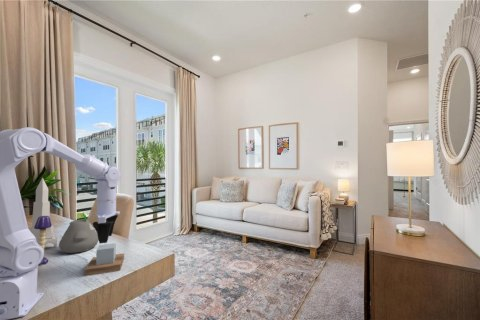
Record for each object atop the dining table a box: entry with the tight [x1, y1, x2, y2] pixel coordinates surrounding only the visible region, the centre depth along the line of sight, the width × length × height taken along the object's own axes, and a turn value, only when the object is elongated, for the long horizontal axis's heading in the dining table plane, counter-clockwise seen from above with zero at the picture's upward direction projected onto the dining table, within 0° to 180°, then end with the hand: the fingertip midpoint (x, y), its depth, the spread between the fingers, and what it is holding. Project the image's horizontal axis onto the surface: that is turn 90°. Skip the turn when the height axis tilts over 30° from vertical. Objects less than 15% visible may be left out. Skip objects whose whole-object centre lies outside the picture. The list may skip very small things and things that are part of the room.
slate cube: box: [95, 242, 117, 265], centre depth 75 cm, size 5×5×5 cm
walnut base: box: [84, 253, 125, 277], centre depth 75 cm, size 10×10×2 cm
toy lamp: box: [34, 216, 53, 267], centre depth 78 cm, size 5×5×17 cm
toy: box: [58, 212, 99, 254], centre depth 92 cm, size 15×14×15 cm
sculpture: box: [28, 177, 58, 248], centre depth 91 cm, size 7×8×30 cm
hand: (105, 239), depth 75 cm, fingers open, 7 cm apart
